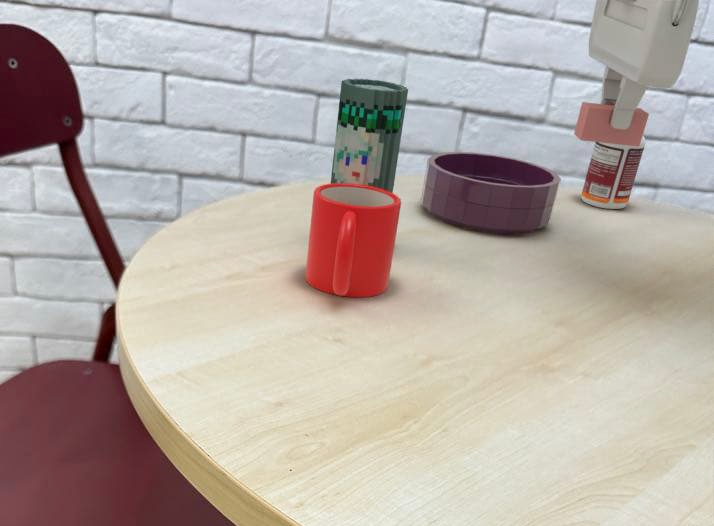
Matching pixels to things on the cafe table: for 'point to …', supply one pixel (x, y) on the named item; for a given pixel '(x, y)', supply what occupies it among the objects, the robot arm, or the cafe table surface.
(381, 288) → the mug
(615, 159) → the pill bottle
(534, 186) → the bowl
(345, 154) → the can
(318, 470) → the cafe table surface
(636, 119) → the eraser
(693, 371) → the cafe table surface
